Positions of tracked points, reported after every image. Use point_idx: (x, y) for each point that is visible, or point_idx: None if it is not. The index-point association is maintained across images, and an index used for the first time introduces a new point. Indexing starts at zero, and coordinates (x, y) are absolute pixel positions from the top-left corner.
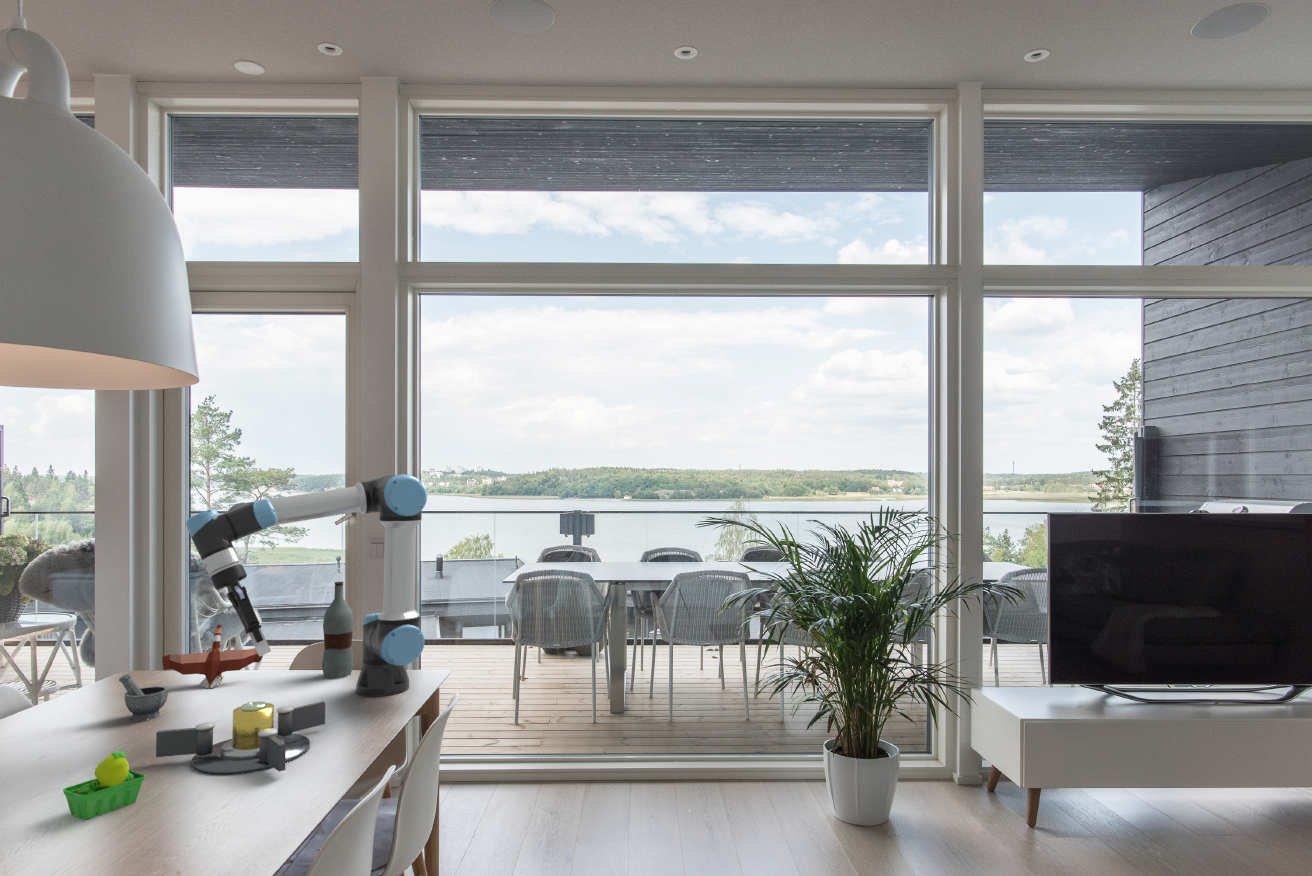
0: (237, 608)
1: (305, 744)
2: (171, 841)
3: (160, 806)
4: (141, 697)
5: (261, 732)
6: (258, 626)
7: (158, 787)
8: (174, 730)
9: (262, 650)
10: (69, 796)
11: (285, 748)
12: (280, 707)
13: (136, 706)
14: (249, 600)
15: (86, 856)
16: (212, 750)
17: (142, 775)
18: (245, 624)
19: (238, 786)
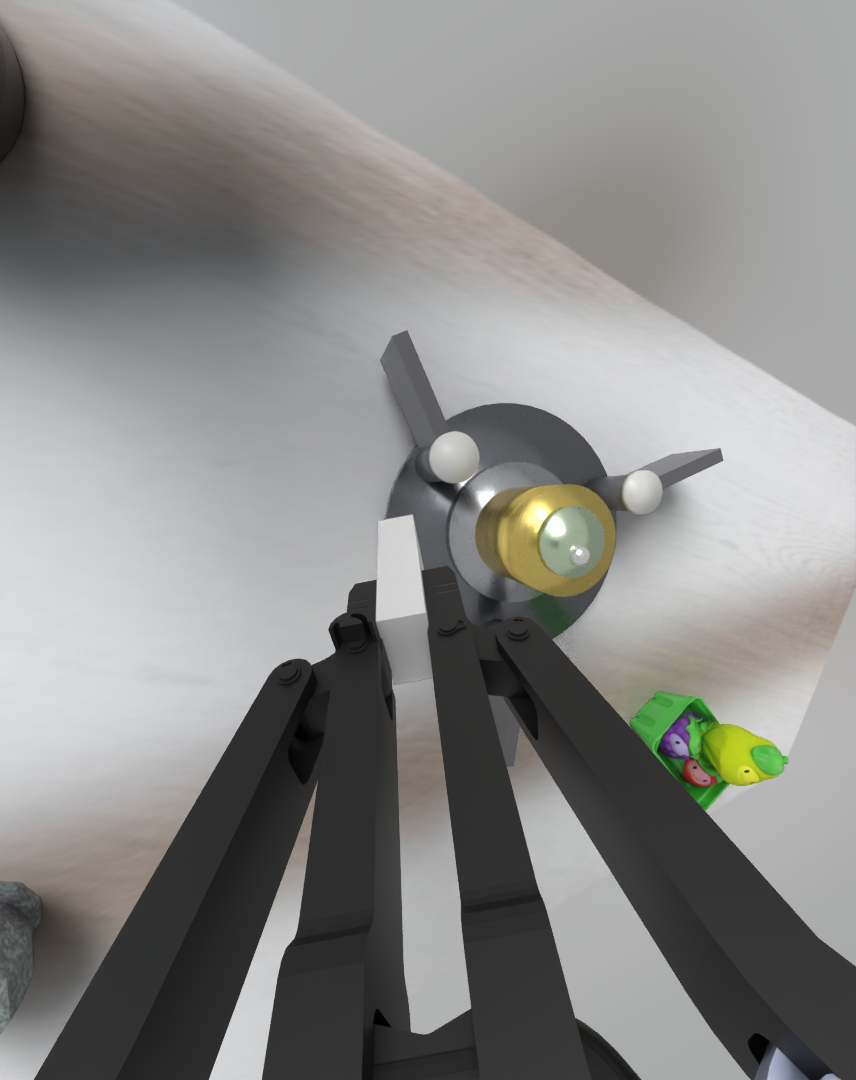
0: (402, 979)
1: (523, 413)
2: (804, 595)
3: (691, 645)
4: (12, 995)
5: (647, 506)
6: (467, 625)
7: (610, 675)
8: (515, 726)
9: (421, 560)
10: (710, 789)
11: (710, 449)
12: (442, 472)
13: (32, 974)
14: (760, 876)
15: (798, 688)
16: (498, 619)
17: (689, 703)
18: (396, 746)
19: (664, 535)
